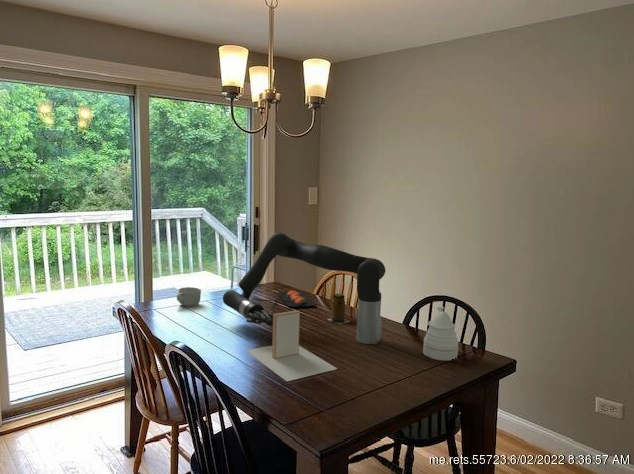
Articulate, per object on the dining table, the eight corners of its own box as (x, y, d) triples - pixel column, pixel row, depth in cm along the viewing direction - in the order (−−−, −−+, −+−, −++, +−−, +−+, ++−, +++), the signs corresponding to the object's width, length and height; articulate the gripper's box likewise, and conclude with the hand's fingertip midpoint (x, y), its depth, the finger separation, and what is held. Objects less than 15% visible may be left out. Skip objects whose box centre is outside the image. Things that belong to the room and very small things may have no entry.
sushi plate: (317, 308, 239) (317, 301, 239) (257, 311, 231) (257, 304, 230) (302, 294, 267) (302, 287, 266) (248, 296, 258) (248, 289, 258)
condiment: (338, 317, 225) (339, 292, 223) (351, 321, 218) (352, 296, 217) (326, 319, 220) (327, 294, 219) (339, 324, 214) (340, 298, 212)
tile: (272, 357, 171) (273, 314, 169) (296, 352, 177) (297, 310, 174) (274, 359, 169) (275, 315, 167) (298, 354, 175) (300, 311, 173)
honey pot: (416, 349, 186) (419, 304, 184) (443, 346, 191) (446, 302, 189) (436, 362, 175) (440, 314, 172) (464, 358, 180) (468, 311, 177)
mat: (245, 353, 177) (245, 350, 177) (292, 343, 188) (292, 341, 188) (286, 384, 152) (286, 381, 152) (337, 371, 163) (337, 368, 163)
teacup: (191, 301, 243) (191, 285, 242) (205, 305, 237) (205, 289, 236) (168, 306, 232) (168, 290, 231) (182, 311, 225) (182, 294, 224)
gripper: (236, 303, 190) (256, 315, 176) (266, 299, 198) (287, 311, 183) (236, 321, 191) (255, 335, 177) (265, 317, 199) (286, 330, 184)
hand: (271, 323), depth 180 cm, fingers closed
